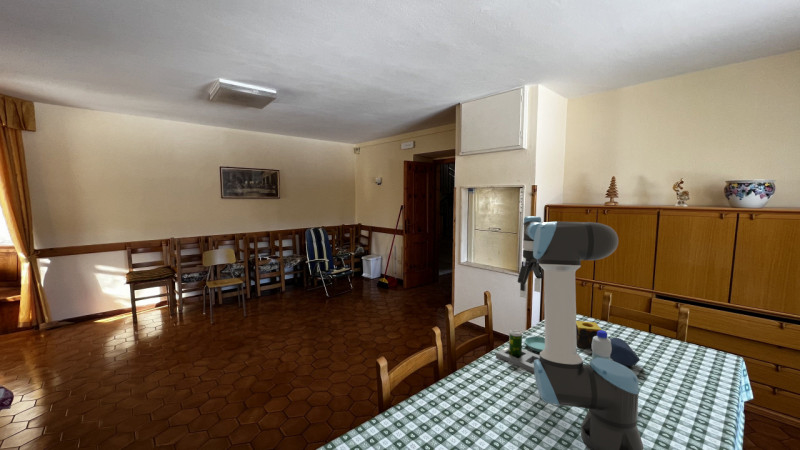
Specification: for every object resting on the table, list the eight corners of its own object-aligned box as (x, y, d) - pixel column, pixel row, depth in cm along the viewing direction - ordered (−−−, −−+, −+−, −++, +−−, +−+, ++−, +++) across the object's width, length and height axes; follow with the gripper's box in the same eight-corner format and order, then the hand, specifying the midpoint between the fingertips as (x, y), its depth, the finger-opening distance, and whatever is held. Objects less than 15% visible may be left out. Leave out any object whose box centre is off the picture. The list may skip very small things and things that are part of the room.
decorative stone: (612, 369, 132) (613, 346, 131) (601, 355, 144) (602, 334, 143) (644, 373, 129) (645, 349, 128) (630, 358, 141) (632, 337, 140)
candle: (577, 347, 152) (578, 327, 151) (572, 339, 161) (573, 320, 161) (601, 350, 149) (602, 330, 148) (595, 341, 158) (595, 322, 158)
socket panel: (544, 376, 127) (544, 371, 127) (496, 356, 143) (496, 352, 143) (557, 366, 135) (557, 361, 134) (510, 348, 151) (510, 344, 151)
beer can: (518, 354, 146) (518, 328, 145) (523, 360, 140) (524, 333, 139) (506, 354, 145) (507, 329, 144) (512, 360, 140) (512, 334, 139)
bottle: (613, 386, 120) (615, 335, 119) (594, 384, 122) (596, 333, 120) (605, 376, 127) (607, 328, 125) (587, 374, 128) (589, 326, 127)
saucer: (565, 352, 148) (565, 346, 147) (541, 358, 142) (541, 352, 142) (541, 339, 161) (541, 334, 161) (518, 344, 156) (518, 339, 156)
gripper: (526, 253, 136) (524, 301, 137) (551, 247, 152) (550, 290, 153) (510, 251, 141) (509, 298, 143) (536, 246, 157) (535, 287, 159)
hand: (530, 294), depth 148 cm, fingers open, 13 cm apart
